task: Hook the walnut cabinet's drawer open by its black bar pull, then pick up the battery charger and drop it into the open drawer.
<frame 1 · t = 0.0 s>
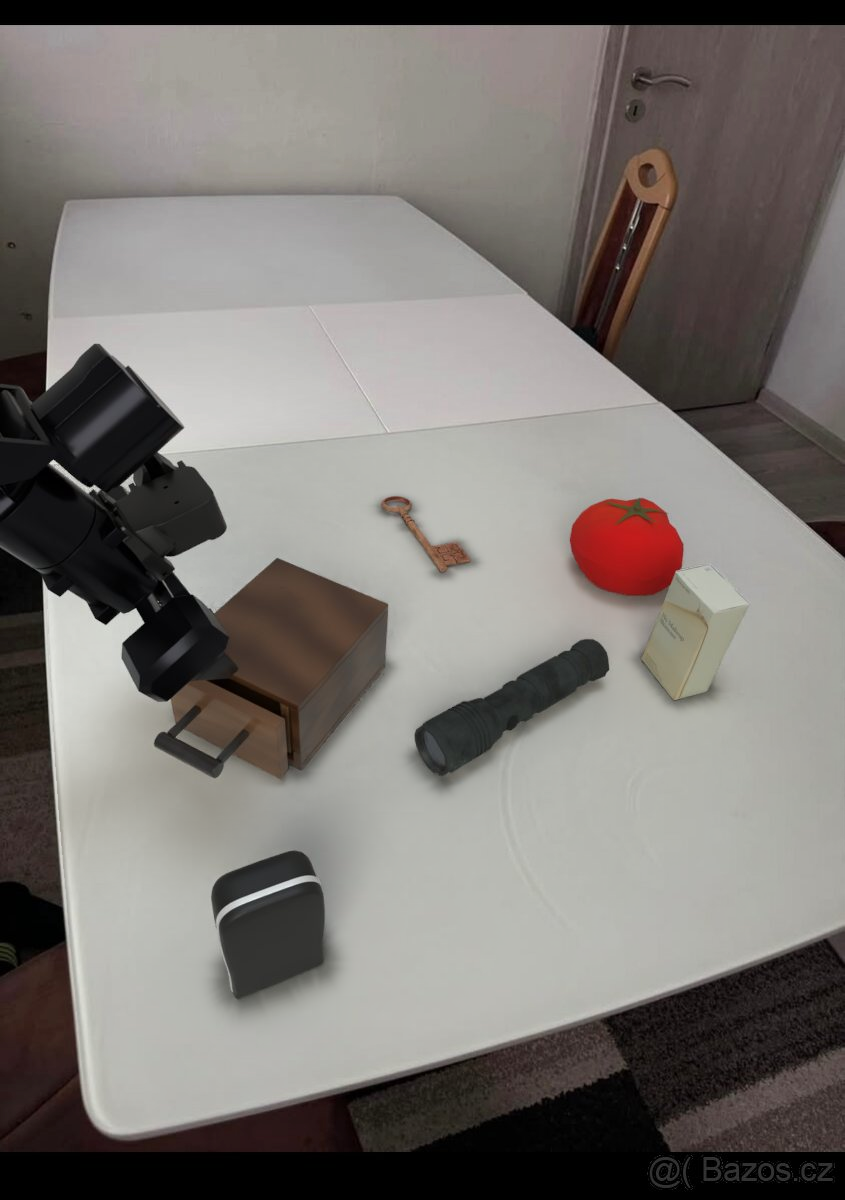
hand: (209, 634, 63), 14 cm above the table, tool tilted 35°, fingers open, 9 cm apart
tomato: (617, 579, 94), on the table
drawer: (254, 694, 72), point 4 cm above the table, slide at 1.0 cm
cabinet: (290, 689, 78), on the table
cosmetic box: (674, 677, 83), on the table
key: (423, 534, 98), on the table
flashlight: (513, 720, 77), on the table
battery charger: (273, 960, 59), on the table
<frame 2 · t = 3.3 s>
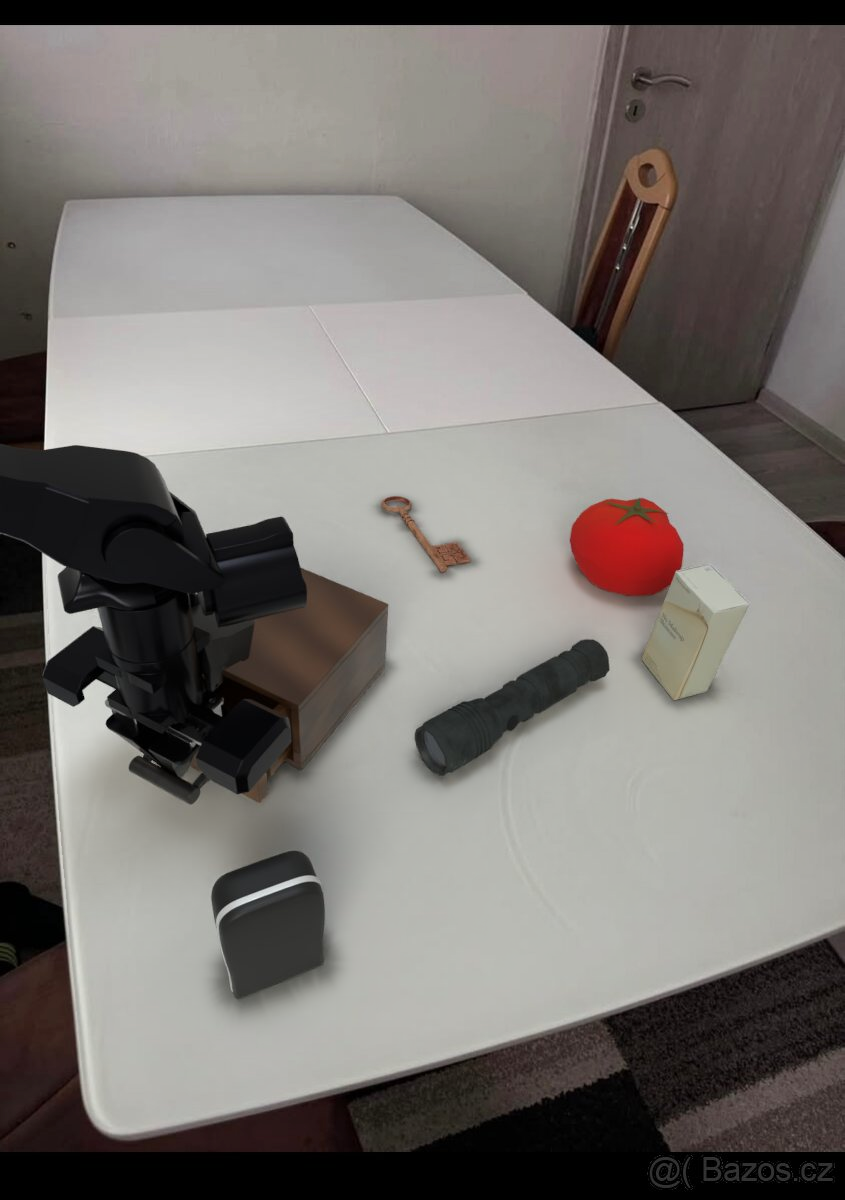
hand: (180, 773, 65), 4 cm above the table, tool pointing down, fingers closed, pressing on drawer
drawer: (233, 715, 70), point 4 cm above the table, slide at 3.8 cm, touching gripper
everything else where it was.
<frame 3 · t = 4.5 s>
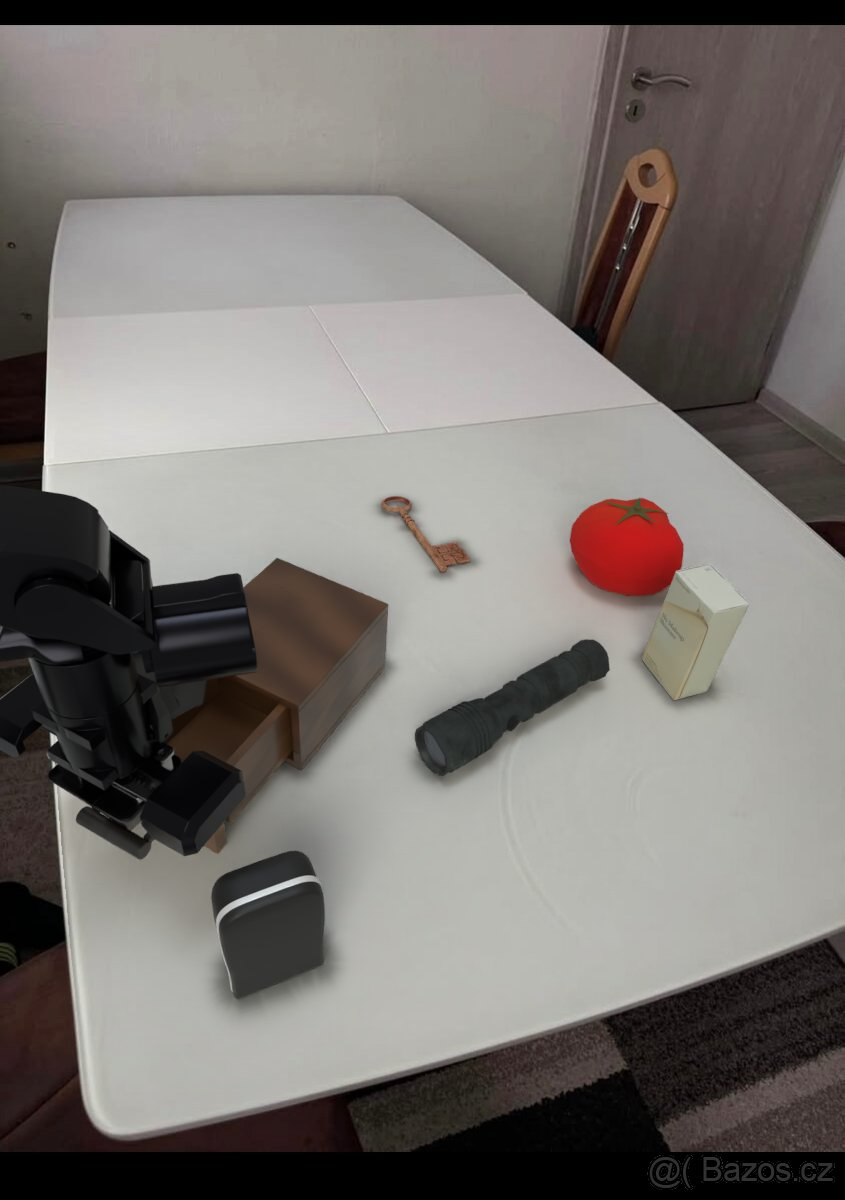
hand: (132, 824, 61), 4 cm above the table, tool pointing down, fingers closed, pressing on drawer
drawer: (191, 759, 66), point 4 cm above the table, slide at 9.3 cm, touching gripper
everything else where it was.
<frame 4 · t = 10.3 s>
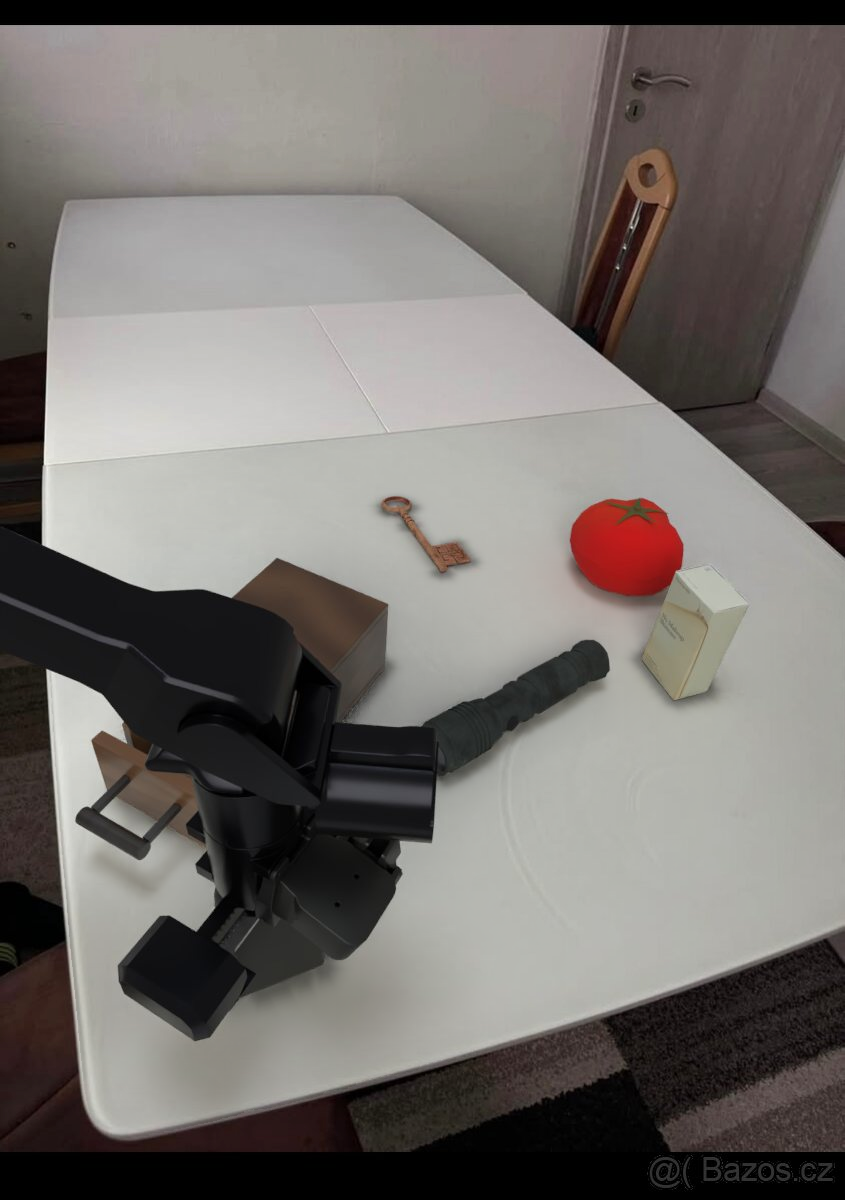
hand: (270, 938, 56), 4 cm above the table, tool pointing down, fingers closed on battery charger, 8 cm apart
drawer: (191, 759, 66), point 4 cm above the table, slide at 9.3 cm
battery charger: (273, 960, 59), on the table, touching gripper
everything else where it was.
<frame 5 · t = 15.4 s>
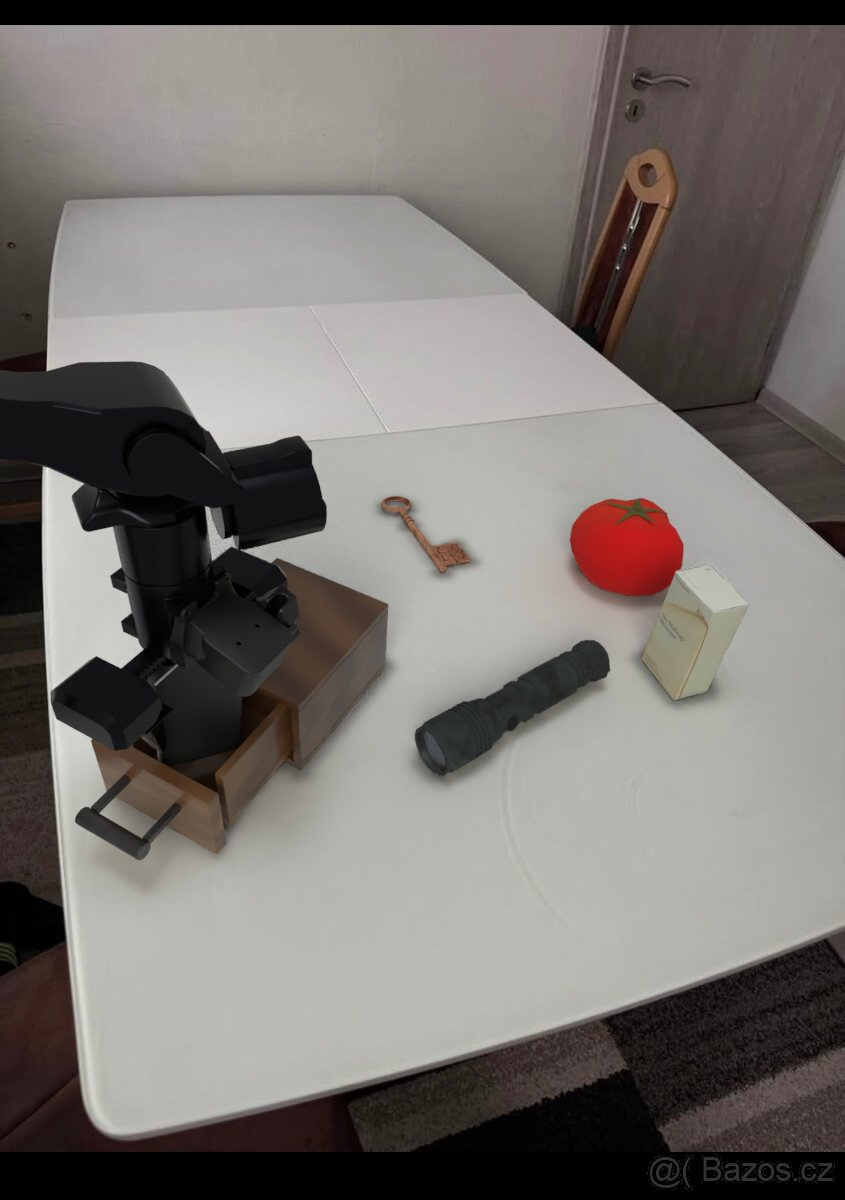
hand: (193, 714, 64), 9 cm above the table, tool pointing down, fingers closed on battery charger, 7 cm apart
battery charger: (198, 744, 67), point 5 cm above the table, touching gripper
everything else where it was.
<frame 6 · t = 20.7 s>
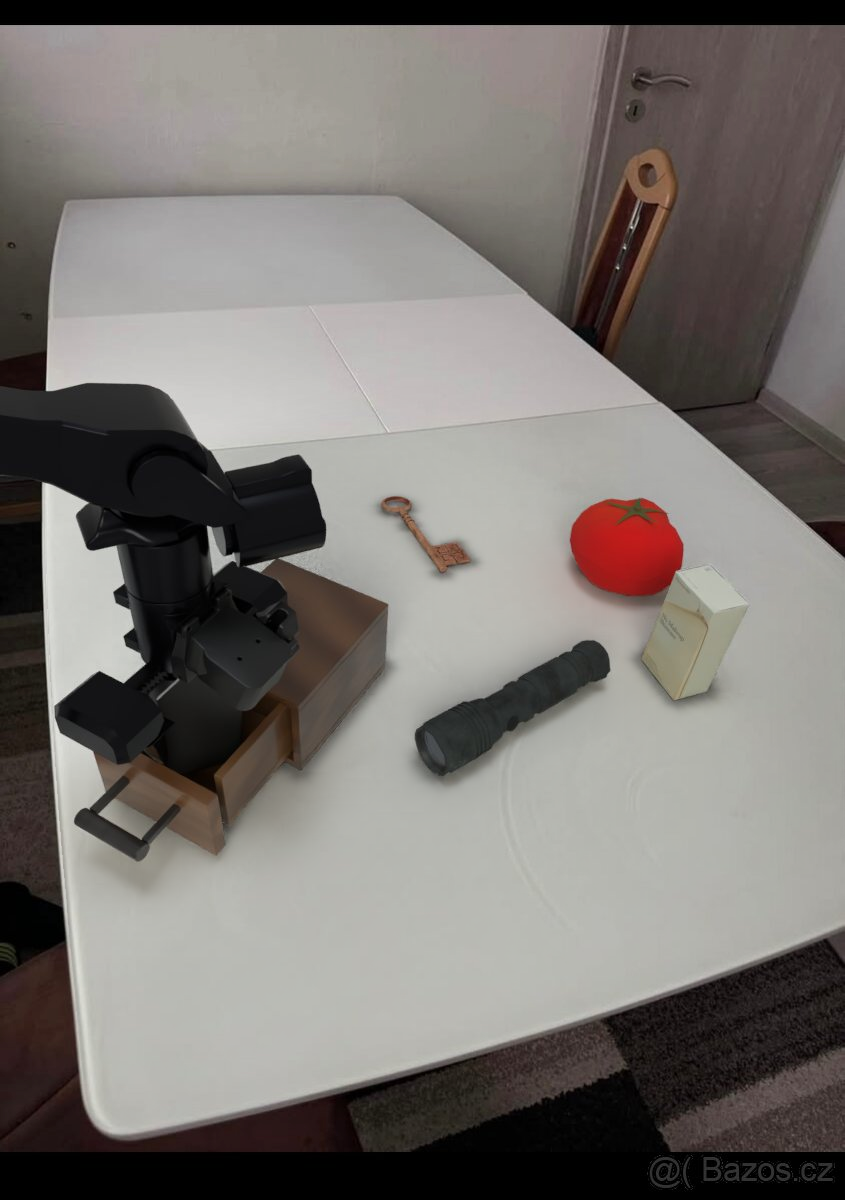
hand: (194, 726, 65), 7 cm above the table, tool pointing down, fingers closed on battery charger, 7 cm apart
drawer: (190, 760, 66), point 4 cm above the table, slide at 9.5 cm, touching gripper
battery charger: (199, 755, 68), point 3 cm above the table, touching gripper
everything else where it was.
when the fingers open (9 cm above the table, at t = 24.0 s): battery charger drops 2 cm, resting on drawer.
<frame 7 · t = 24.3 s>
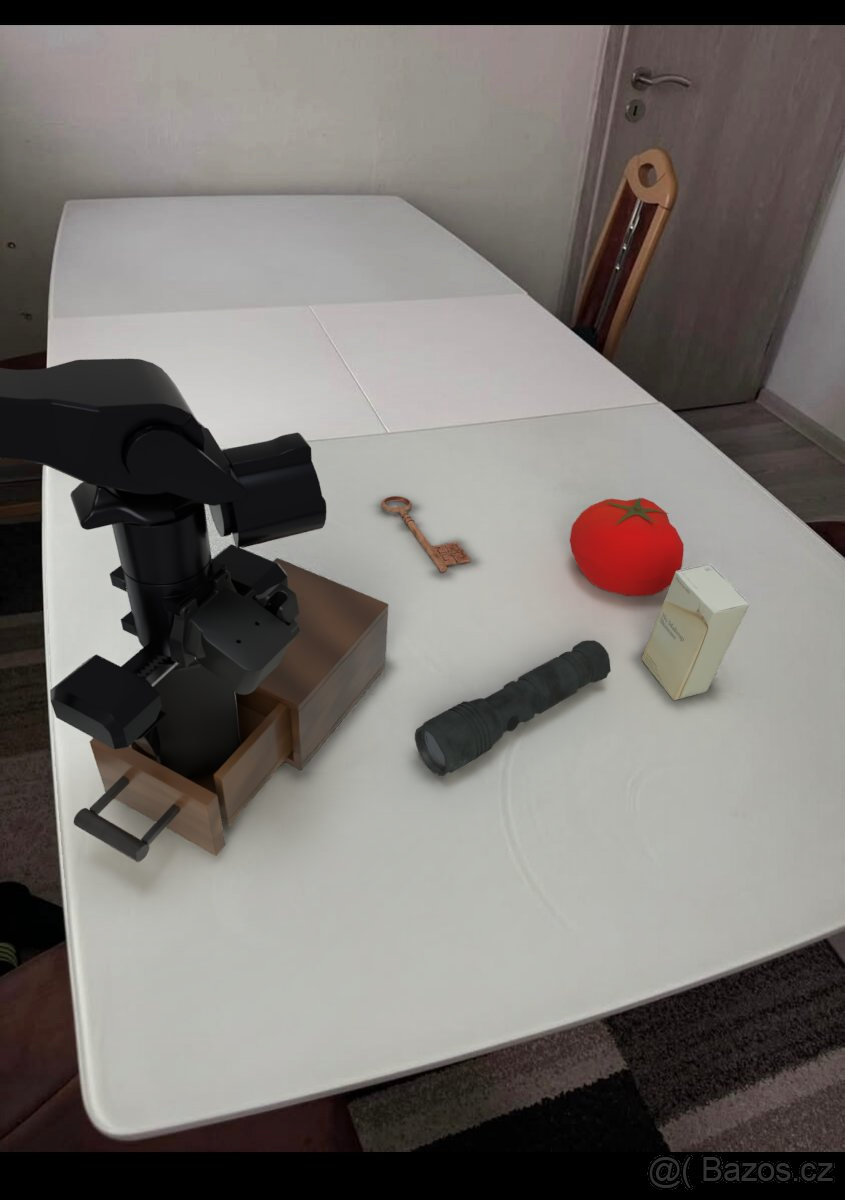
hand: (194, 712, 64), 9 cm above the table, tool pointing down, fingers open, 9 cm apart
drawer: (190, 761, 66), point 4 cm above the table, slide at 9.5 cm, touching battery charger
battery charger: (201, 762, 68), point 2 cm above the table, touching drawer
everything else where it was.
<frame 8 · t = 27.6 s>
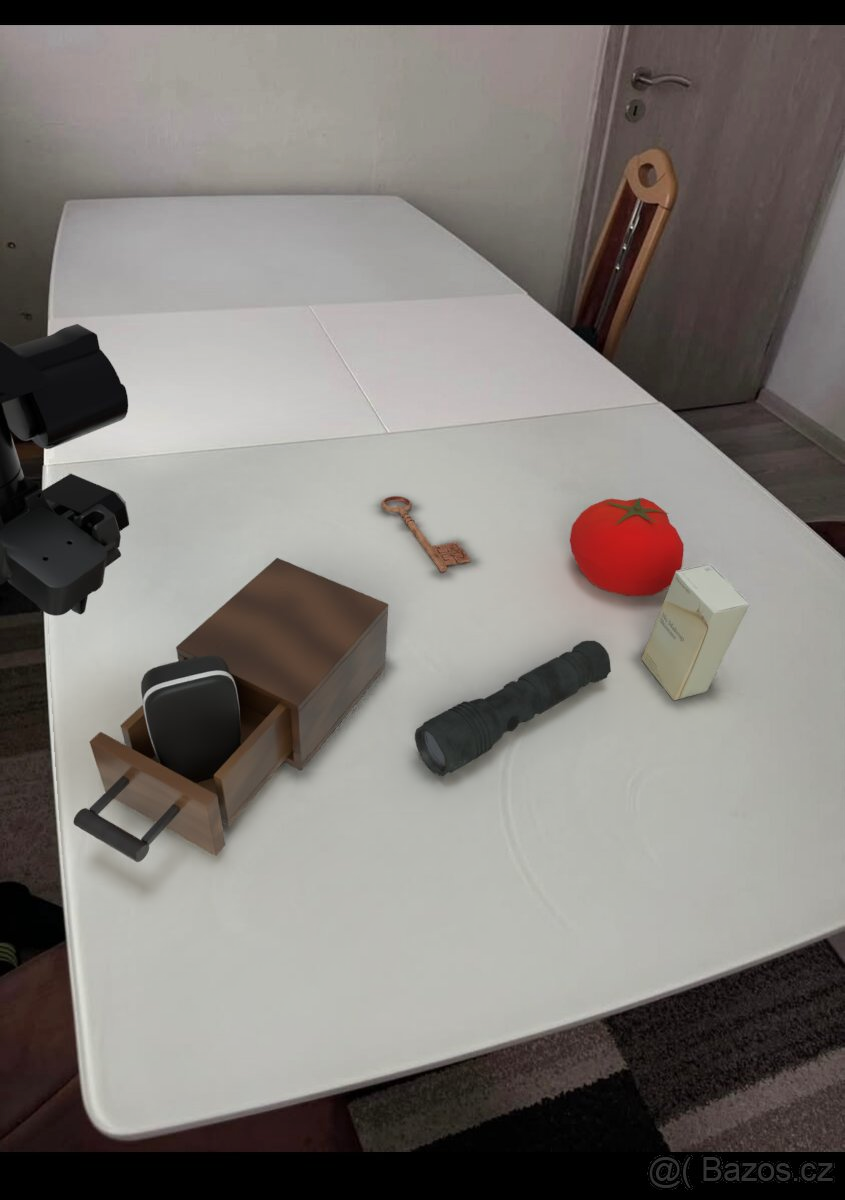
hand: (32, 646, 62), 13 cm above the table, tool pointing down, fingers open, 9 cm apart
at the end: drawer slide at 9.5 cm; battery charger inside the target area in the drawer (0.7 cm from its centre), point 1.8 cm above the cabinet's base; the gripper is holding nothing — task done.
